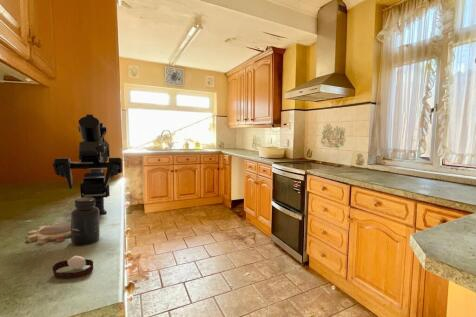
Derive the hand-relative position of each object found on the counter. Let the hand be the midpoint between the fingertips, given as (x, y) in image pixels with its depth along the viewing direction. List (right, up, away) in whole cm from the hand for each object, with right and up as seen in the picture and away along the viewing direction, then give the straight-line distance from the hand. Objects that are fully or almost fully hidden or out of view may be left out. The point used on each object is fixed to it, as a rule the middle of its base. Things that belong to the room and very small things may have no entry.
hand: (88, 187), depth 74 cm
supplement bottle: (+3, -14, -6) cm, 16 cm away
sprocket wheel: (-8, -13, -1) cm, 16 cm away
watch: (+10, -16, -22) cm, 29 cm away
